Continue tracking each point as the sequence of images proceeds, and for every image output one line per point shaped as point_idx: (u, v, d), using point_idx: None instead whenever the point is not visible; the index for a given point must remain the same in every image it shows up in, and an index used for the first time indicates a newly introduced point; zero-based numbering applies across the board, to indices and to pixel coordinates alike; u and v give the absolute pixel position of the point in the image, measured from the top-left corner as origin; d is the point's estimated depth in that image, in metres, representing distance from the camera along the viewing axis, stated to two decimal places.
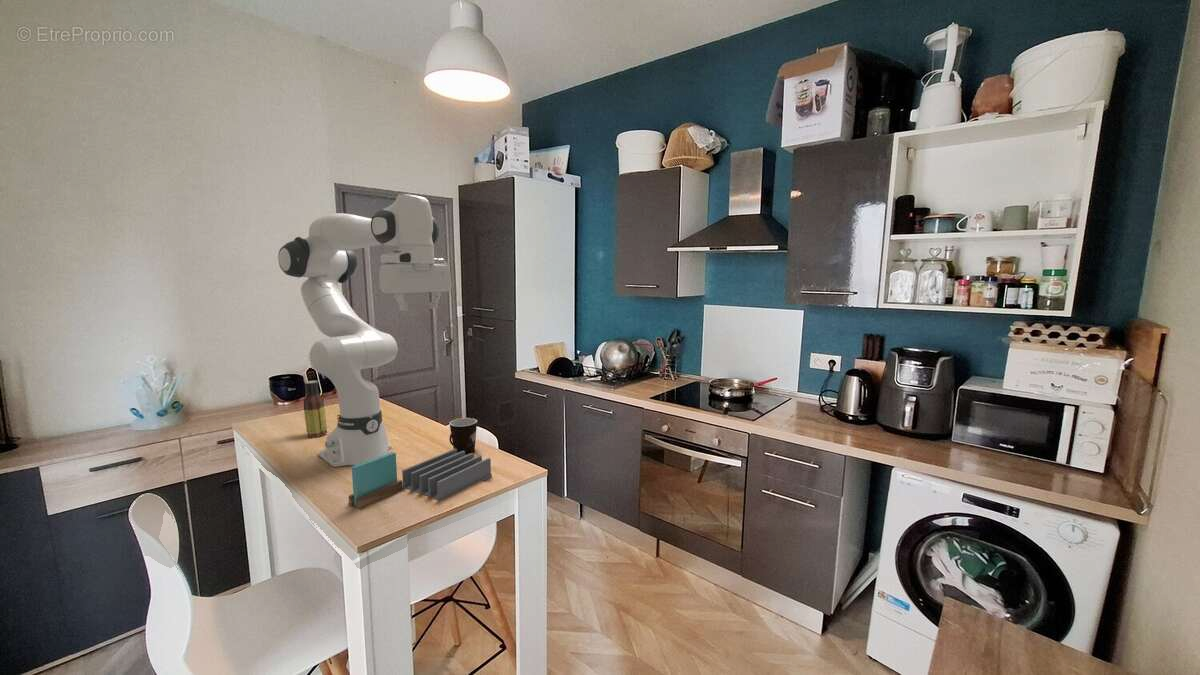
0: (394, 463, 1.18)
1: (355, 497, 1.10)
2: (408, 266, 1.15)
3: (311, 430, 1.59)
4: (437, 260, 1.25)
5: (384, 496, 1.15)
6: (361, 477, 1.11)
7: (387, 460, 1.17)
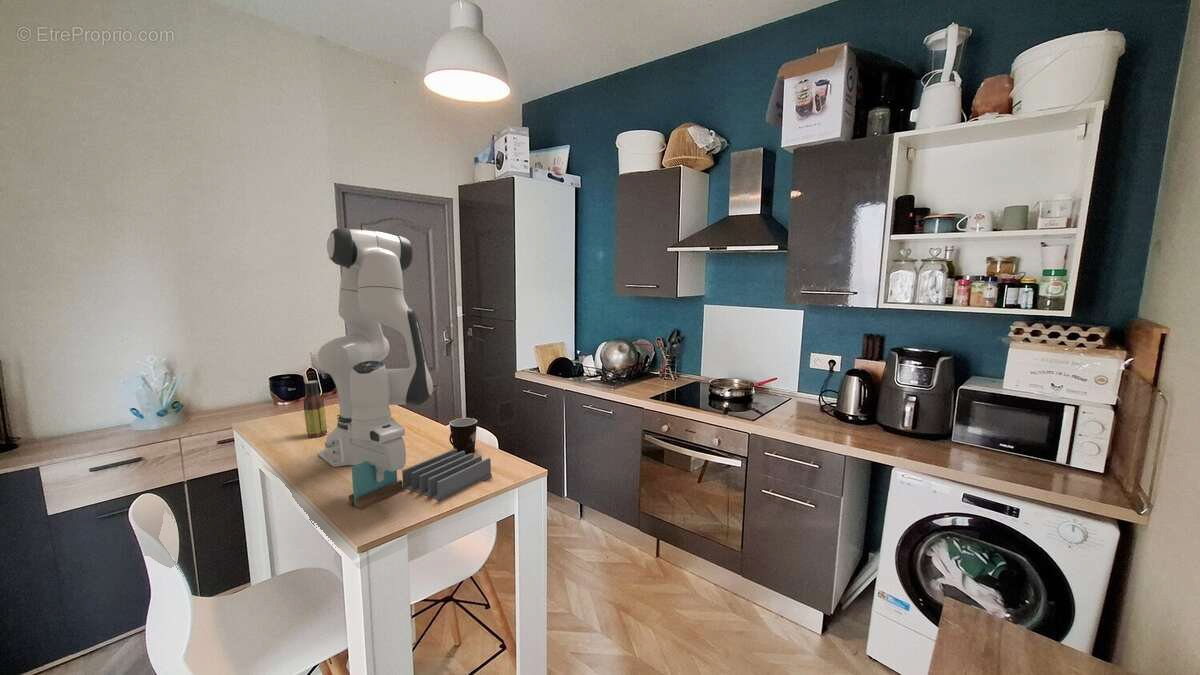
0: None
1: (355, 497, 1.10)
2: None
3: (311, 430, 1.59)
4: None
5: (384, 496, 1.15)
6: (361, 477, 1.11)
7: None
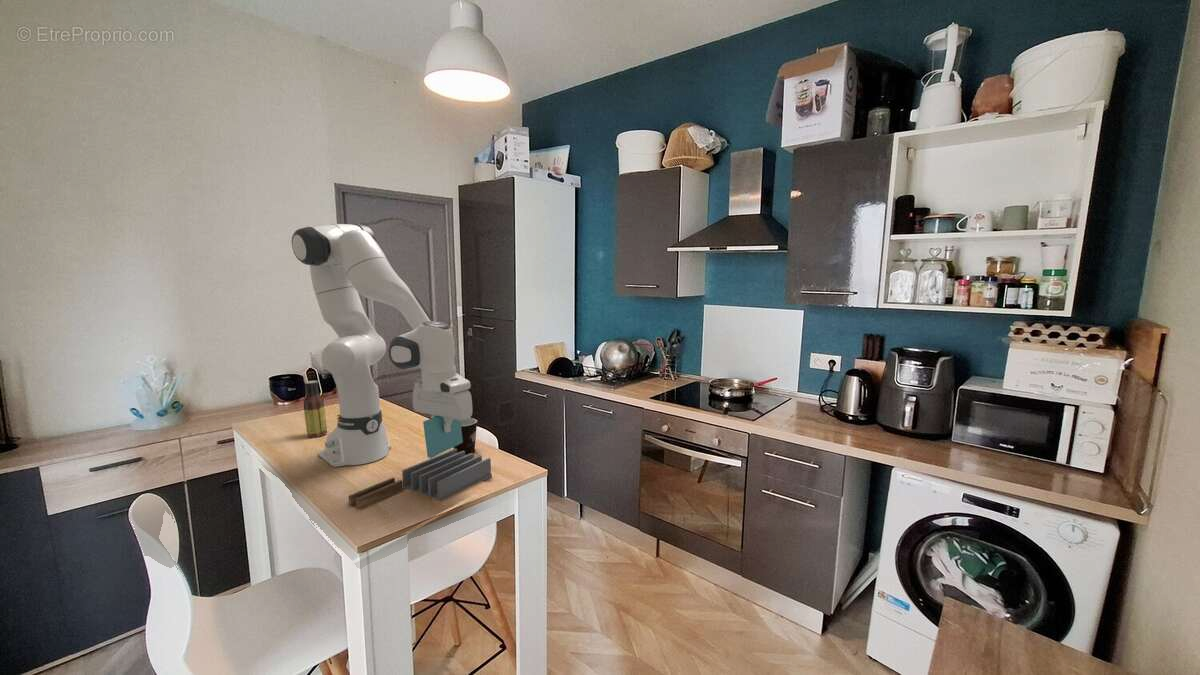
0: None
1: (428, 449, 1.20)
2: None
3: (311, 430, 1.59)
4: None
5: (384, 496, 1.15)
6: (432, 431, 1.20)
7: None
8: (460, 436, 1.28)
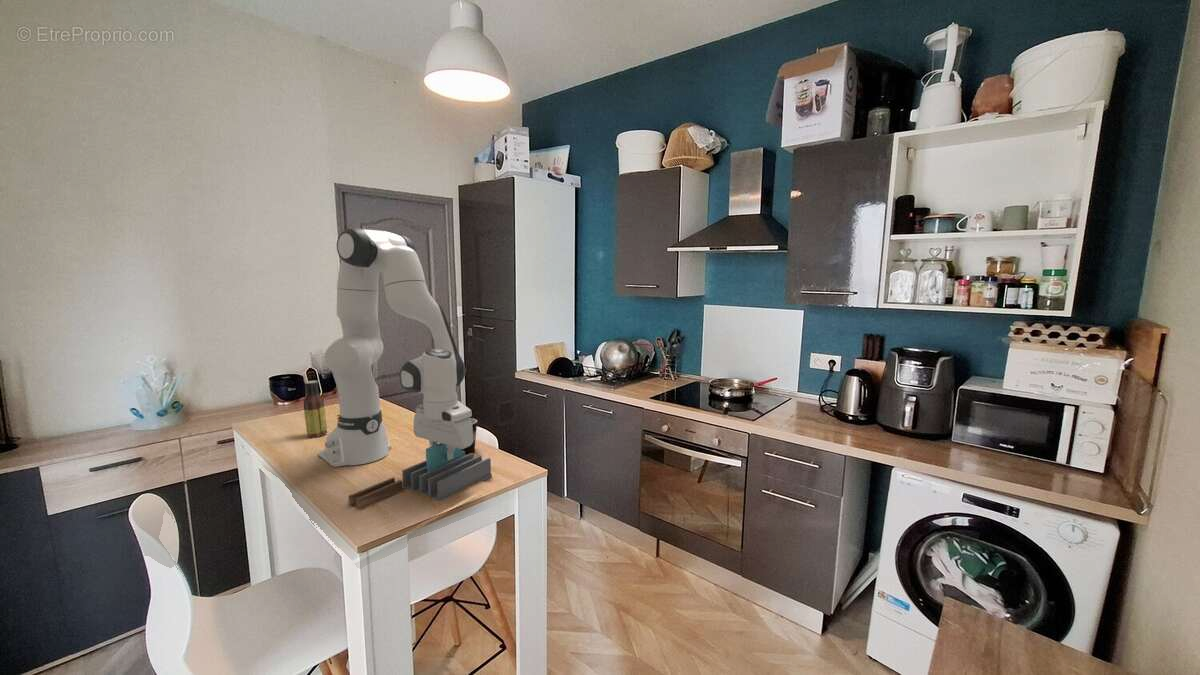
0: None
1: None
2: None
3: (311, 430, 1.59)
4: None
5: (384, 496, 1.15)
6: (434, 458, 1.22)
7: None
8: None
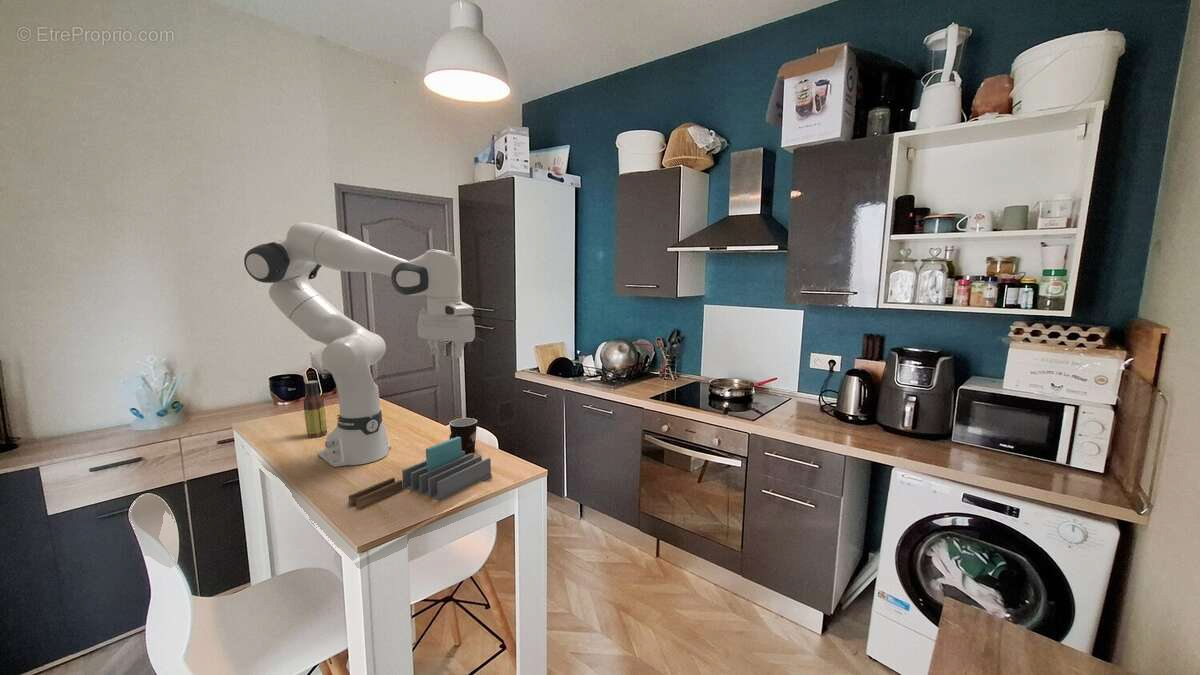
0: (460, 447, 1.29)
1: None
2: None
3: (311, 430, 1.59)
4: None
5: (384, 496, 1.15)
6: (434, 458, 1.22)
7: (454, 444, 1.27)
8: None
